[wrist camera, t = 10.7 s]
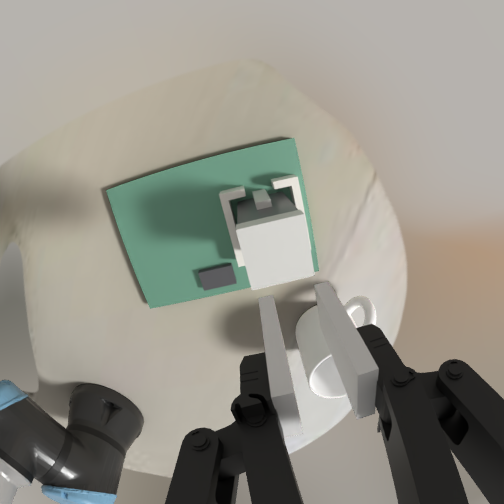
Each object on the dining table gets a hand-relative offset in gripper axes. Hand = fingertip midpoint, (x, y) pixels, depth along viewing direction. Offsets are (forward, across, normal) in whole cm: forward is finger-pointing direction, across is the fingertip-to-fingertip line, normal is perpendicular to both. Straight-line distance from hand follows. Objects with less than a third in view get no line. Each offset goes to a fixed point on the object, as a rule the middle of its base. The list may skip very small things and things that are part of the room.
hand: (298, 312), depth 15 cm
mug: (+21, +6, -16) cm, 27 cm away
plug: (+19, 0, 0) cm, 19 cm away
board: (+20, -6, 0) cm, 21 cm away
